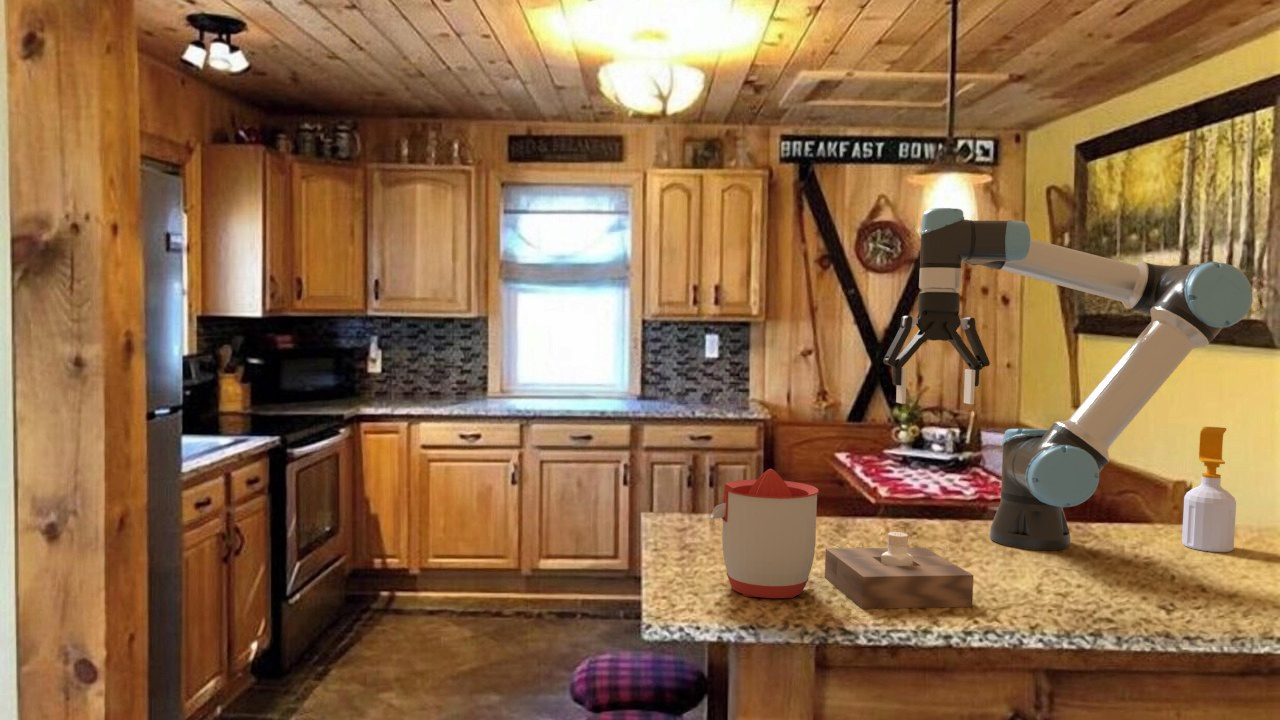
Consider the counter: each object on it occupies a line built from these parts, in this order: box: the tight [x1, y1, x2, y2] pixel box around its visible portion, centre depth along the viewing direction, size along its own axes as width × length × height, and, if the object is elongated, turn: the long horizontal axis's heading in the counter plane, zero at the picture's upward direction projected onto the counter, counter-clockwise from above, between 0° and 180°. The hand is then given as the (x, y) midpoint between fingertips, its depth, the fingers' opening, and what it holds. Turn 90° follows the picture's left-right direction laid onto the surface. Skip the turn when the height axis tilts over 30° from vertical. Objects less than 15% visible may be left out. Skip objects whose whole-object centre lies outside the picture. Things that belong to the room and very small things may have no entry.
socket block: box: [824, 547, 974, 610], centre depth 165 cm, size 18×18×5 cm
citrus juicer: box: [710, 468, 820, 599], centre depth 163 cm, size 16×17×20 cm
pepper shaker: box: [881, 531, 913, 566], centre depth 165 cm, size 4×4×10 cm
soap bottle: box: [1181, 426, 1237, 553], centre depth 202 cm, size 9×9×25 cm
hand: (934, 403), depth 190 cm, fingers open, 13 cm apart
